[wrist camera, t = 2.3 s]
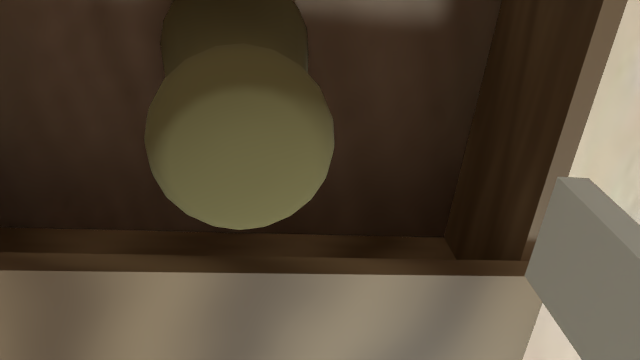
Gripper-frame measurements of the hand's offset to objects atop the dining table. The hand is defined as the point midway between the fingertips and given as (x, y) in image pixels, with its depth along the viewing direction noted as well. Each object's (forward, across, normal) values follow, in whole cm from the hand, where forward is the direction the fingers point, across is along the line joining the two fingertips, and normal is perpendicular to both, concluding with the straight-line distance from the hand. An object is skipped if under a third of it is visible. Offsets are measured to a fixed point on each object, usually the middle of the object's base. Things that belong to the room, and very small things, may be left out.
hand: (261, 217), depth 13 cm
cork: (+14, 0, 0) cm, 14 cm away
